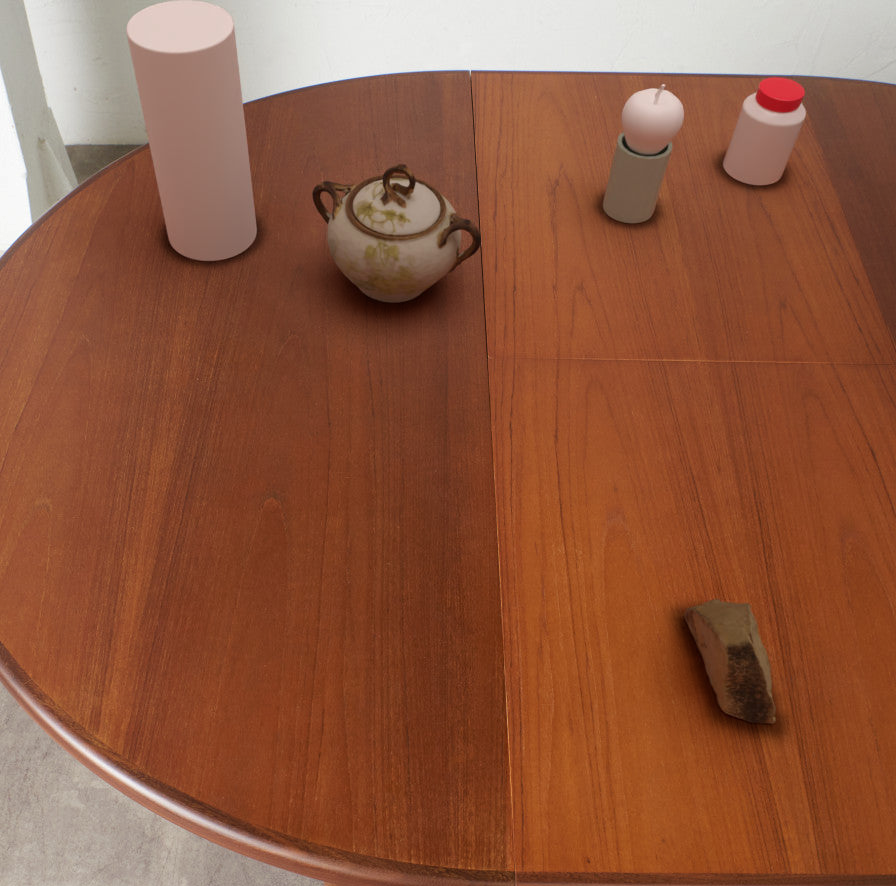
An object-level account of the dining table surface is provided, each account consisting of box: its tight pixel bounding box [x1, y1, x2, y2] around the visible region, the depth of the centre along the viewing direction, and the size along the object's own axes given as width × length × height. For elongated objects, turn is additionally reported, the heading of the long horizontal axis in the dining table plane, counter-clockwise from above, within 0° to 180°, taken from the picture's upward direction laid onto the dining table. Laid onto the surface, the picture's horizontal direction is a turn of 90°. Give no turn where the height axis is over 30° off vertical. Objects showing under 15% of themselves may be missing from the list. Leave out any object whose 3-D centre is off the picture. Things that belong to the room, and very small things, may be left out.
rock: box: [683, 598, 777, 725], centre depth 78 cm, size 11×9×10 cm
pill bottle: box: [722, 76, 807, 186], centre depth 120 cm, size 8×8×11 cm
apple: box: [620, 83, 685, 155], centre depth 108 cm, size 7×7×8 cm
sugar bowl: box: [311, 163, 482, 304], centre depth 103 cm, size 20×15×15 cm
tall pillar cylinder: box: [125, 0, 258, 262], centre depth 104 cm, size 11×11×25 cm
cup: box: [602, 131, 673, 224], centre depth 115 cm, size 6×6×9 cm
